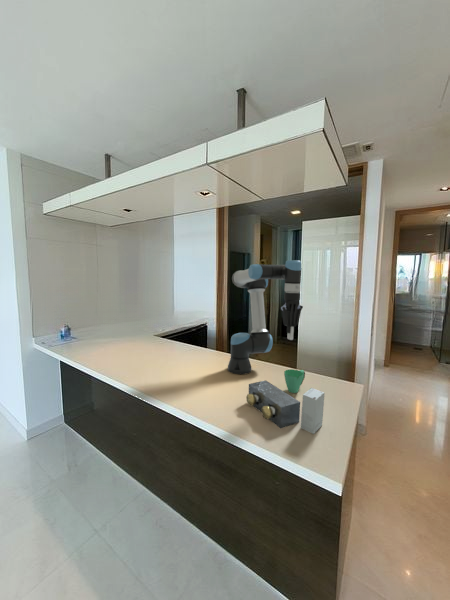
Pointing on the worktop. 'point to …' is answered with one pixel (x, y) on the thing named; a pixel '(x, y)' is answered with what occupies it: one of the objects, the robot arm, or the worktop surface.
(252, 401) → the knob left
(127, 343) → the worktop surface
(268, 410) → the knob right
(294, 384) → the mug
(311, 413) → the skincare box
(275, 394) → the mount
